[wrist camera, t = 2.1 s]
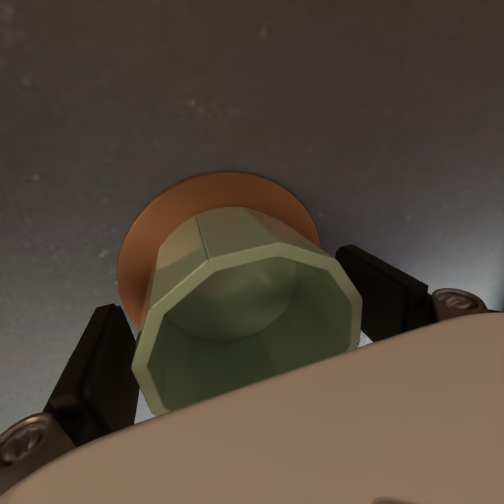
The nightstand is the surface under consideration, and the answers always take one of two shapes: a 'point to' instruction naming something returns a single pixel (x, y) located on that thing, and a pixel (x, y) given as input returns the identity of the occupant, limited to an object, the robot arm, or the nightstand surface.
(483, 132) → the nightstand surface
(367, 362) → the robot arm
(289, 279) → the bowl
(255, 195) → the plate
